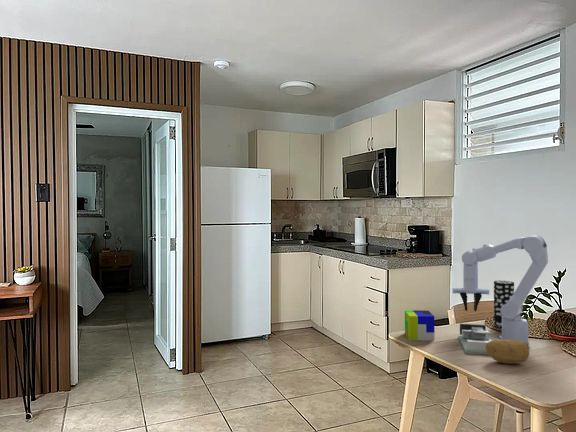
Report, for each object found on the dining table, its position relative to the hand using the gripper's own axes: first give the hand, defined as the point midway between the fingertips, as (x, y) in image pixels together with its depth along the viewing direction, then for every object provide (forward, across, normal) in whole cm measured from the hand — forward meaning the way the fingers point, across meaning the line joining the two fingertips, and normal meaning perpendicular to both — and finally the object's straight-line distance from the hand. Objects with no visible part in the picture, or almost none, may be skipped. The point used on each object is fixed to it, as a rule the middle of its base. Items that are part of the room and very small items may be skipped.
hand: (470, 310), depth 192 cm
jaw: (+9, 0, -9) cm, 12 cm away
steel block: (+9, 0, -18) cm, 20 cm away
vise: (+10, 0, -18) cm, 21 cm away
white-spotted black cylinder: (+10, +16, +15) cm, 24 cm away
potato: (+10, +6, -35) cm, 37 cm away
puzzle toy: (+10, -22, -9) cm, 26 cm away
